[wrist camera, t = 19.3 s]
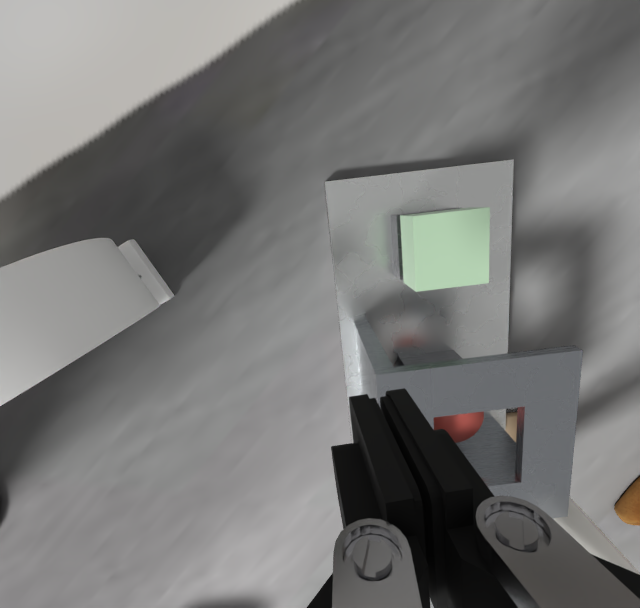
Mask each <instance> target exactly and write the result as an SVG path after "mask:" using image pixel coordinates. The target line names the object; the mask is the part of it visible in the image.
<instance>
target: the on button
mask: <svg viewBox="0 0 640 608" xmlns="http://www.w3.org/2000/svg"><path fill="white" fill-rule="evenodd" d="M400 223H401V243H402V262H403V281H404V283H405V284H406V285H407V286H409V287H410V288H411V289H413V290H414V291H415V292H419V291H427V290H436V289H444V288H452V287H461V286H469V285H477V284H486V283H489V238H490V207H468V208H460V209H451V210H443V211H434V212H426V213H417V214H409V215H400Z"/></svg>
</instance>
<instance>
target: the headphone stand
mask: <svg viewBox="0 0 640 608" xmlns="http://www.w3.org/2000/svg"><path fill="white" fill-rule="evenodd" d="M174 296H175V295H174V294H173V293H172V291H171V290H170V288H169V287H168V286H167V284H166V283H165V281H164V280H163V279H162V277H161V276H160V274H159V273H158V272H157V270H156V269H155V267H154V266H153V265H152V263H151V262H150V260H149V259H148V258H147V256H146V255H145V253H144V252H143V251H142V249H141V248H140V246H139V245H138V244H137V242H136V241H135V239H132V240H128V241H126V242H125V243H123V244H121V245H120V246H118V247H117V246H116V244H115V243H114V242H113V240H112V239H110V238H94V239H88V240H83V241H79V242H75V243H71V244H67V245H64V246H60V247H57V248H54V249H50V250H47V251H44V252H41V253H38V254H35V255H33V256H30V257H27V258H24V259H21V260H19V261H16V262H14V263H11V264H8V265H6V266H3V267H1V268H0V406H1V405H3V404H5V403H6V402H8V401H10V400H11V399H13V398H15V397H16V396H18V395H19V394H21V393H23V392H24V391H26V390H28V389H29V388H31V387H33V386H34V385H36V384H38V383H39V382H41V381H42V380H44V379H46V378H47V377H49V376H51V375H52V374H54V373H55V372H57V371H59V370H60V369H62V368H64V367H65V366H67V365H68V364H70V363H72V362H73V361H75V360H76V359H78V358H80V357H81V356H83V355H85V354H86V353H88V352H89V351H91V350H93V349H94V348H96V347H97V346H99V345H101V344H102V343H104V342H105V341H107V340H109V339H110V338H112V337H113V336H115V335H117V334H118V333H120V332H121V331H123V330H124V329H126V328H128V327H129V326H131V325H132V324H134V323H135V322H137V321H139V320H140V319H142V318H143V317H145V316H146V315H148V314H149V313H151V312H152V311H154V310H155V309H157V308H158V307H160V305H161V304H163V303H164V302H166V301H168V300H169V299H171V298H172V297H174Z"/></svg>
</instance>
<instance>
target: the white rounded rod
mask: <svg viewBox="0 0 640 608" xmlns="http://www.w3.org/2000/svg"><path fill="white" fill-rule="evenodd" d="M552 519H554V520H555V521H556V522H557V523H558V524H559V525H560V526H561V527H562V528H563V529H564V530H565V531H566V532H568V533H569V534H570V535H571V536H572V537H573V538H574V539H575V540H576V541H577V542H578V543H579V544H581V545H582V546H583V547H584V548H585V549H586V550H587V551H588V552H589V553H590V554H592V555H594V556H597V557H599V558H602V559H604V560H606V561H609V562H611V563H613V564H616V565H618V566H620V567H623V568H625V569H627V570H630V571H632V572H635V573H637V574H639V575H640V573H639V572H638V571H637V570H636V569H635V567H634V566H633V565H632V564H631V563H630V562H629V561H628V560H627V559H626V558H625V557H624V555H623V554H622V553H621V552H620V551H619V550H618V549H617V548H616V547H615V546H614V545H613V543H612V542H611V541H610V540H609V539H608V538H607V537H606V536H605V535H604V534H603V532H602V531H601V530H600V529H599V528H598V527H597V526H596V525H595V524H594V523H593V522H592V520H591V519H590V518H589V517H588V516H587V515H586V514H585V513H584V512H583V511H582V510H581V508H580V507H579V506H578V505H577V504H576V503H575V502H574V501H573V500H572V499H571V497H570V496H569V507H568V517H559V518H552Z"/></svg>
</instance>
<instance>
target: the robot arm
mask: <svg viewBox="0 0 640 608" xmlns="http://www.w3.org/2000/svg"><path fill="white" fill-rule="evenodd" d="M349 406H350V415H351V424H352V433H353V442H354V443H351V444H344V445H338V446H332V447H331V450H332V458H333V466H334V473H335V480H336V487H337V493H338V500H339V506H340V511H341V517H342V523H343V529H344V530H343V531H341V533H340V534H339V536H338V538H337V540H336V542H335V547H334V555H333V573H332V575H331V576H330V577H329V579H328V580H327V581H326V583H325V584H324V585H323V587H322V588H321V589H320V591H319V592H318V593H317V595H316V596H315V597H314V599H313V600H312V601H311V603H310V604H309V605H308V607H307V608H430V598H431V601H432V604H433V606H434V608H640V575H639V574H637V573H635V572H632V571H630V570H627V569H625V568H623V567H620V566H618V565H616V564H613V563H611V562H609V561H606V560H604V559H602V558H599V557H597V556H594V555H592V554H590V553H589V552H588V551H587V550H586V549H585V548H584V547H583V546H582V545H581V544H579V543H578V542H577V541H576V540H575V539H574V538H573V537H572V536H571V535H570V534H569V533H568V532H566V531H565V530H564V529H563V528H562V527H561V526H560V525H559V524H558V523H557V522H556V521H555V520H554V519H552V518H551V517H550V516H549V515H548V514H547V513H546V512H544V511H543V510H542V509H540V508H539V507H538V506H536V505H534V504H532V503H530V502H528V501H526V500H523V499H520V498H516V497H512V496H494V495H493V493H492V492H491V491H490V489H489V488H488V487H487V485H486V484H485V483H484V481H483V480H482V479H481V477H480V476H479V474H478V473H477V472H476V470H475V469H474V468H473V466H472V465H471V464H470V462H469V461H468V460H467V458H466V457H465V455H464V454H463V453H462V451H461V450H460V449H459V447H458V446H457V445H456V443H455V442H454V440H453V439H452V438H451V436H450V435H449V434H448V432H447V431H446V430H444V429H438V430H433V428H432V427H431V425H430V424H429V422H428V421H427V420H426V418H425V417H424V415H423V414H422V412H421V411H420V409H419V408H418V406H417V405H416V403H415V402H414V400H413V399H412V397H411V396H410V394H409V393H408V392H407V390H406V389H405V388H403V389H396V390H390V391H386V396H383V397H380V406H379V404H378V402H377V400H376V398H370V399H369V396H368V394H364V395H357V396H351V397H349ZM380 408H381V409H380Z"/></svg>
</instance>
